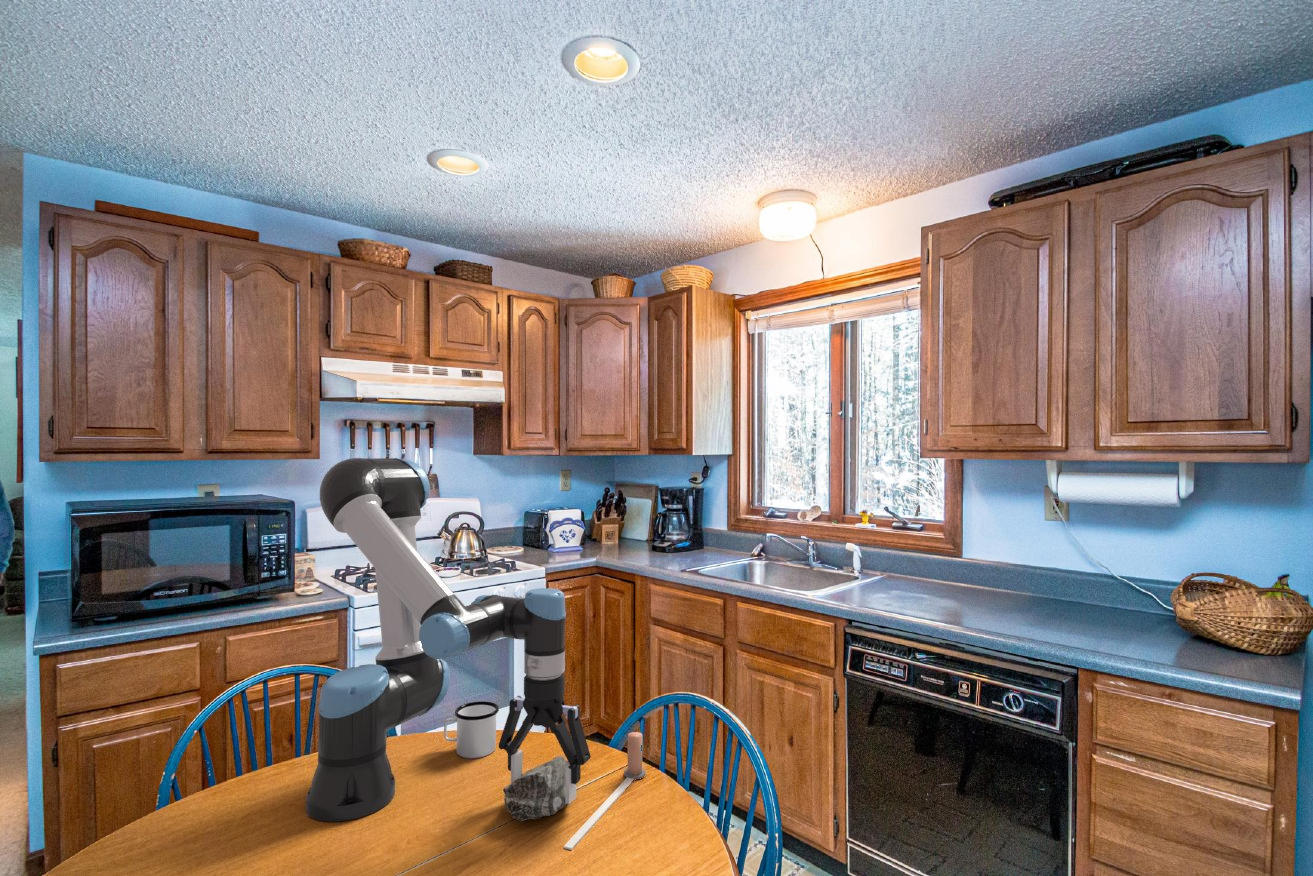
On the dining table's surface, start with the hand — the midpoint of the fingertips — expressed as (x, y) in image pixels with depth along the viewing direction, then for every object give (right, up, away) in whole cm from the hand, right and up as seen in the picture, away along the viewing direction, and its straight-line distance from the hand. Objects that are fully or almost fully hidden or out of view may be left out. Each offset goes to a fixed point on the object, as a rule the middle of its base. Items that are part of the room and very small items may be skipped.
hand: (543, 794), depth 120 cm
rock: (0, -2, 0) cm, 2 cm away
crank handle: (+12, -2, 0) cm, 12 cm away
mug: (-20, -3, +23) cm, 31 cm away
